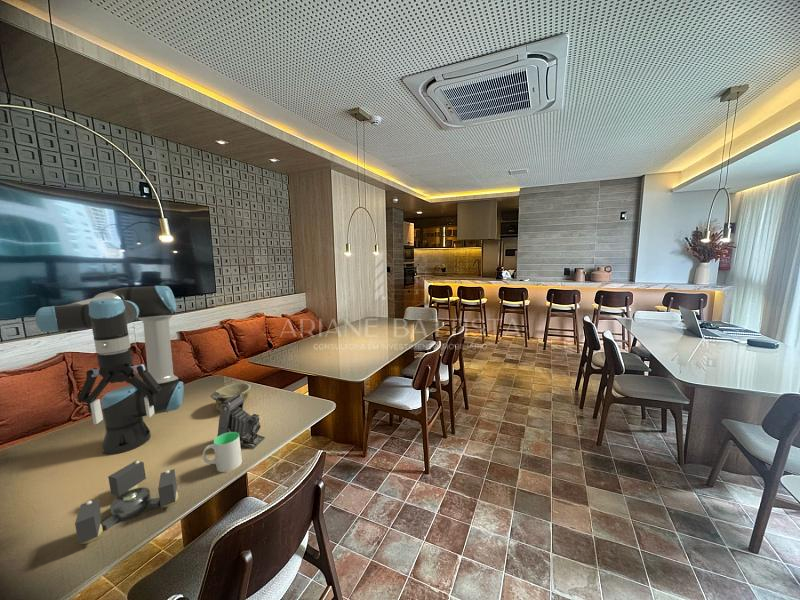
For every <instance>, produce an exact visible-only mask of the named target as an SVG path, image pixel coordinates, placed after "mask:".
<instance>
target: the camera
mask: <svg viewBox="0 0 800 600" xmlns="http://www.w3.org/2000/svg"><path fill="white" fill-rule="evenodd" d="M241 394H242V393H241V392H238V393H237V394H235V395H233V396H232V397H230V398H229V399H228V400H226V401H224V403H223V404H220V411H219V418H218V426H217V427H218V428H217V435H216V438H217V437H218V436H220V435H222V434H224V433H228V432H237V433H239V438H240V446H243V447H247V448H250V449H256V448H257V447H258V445H259V444H261V443H262V441H264V439H266V436H263V435H260V434H258V433H259V431H260V429H261V422H260V414H258V413H253V414H249V412H247V411H246V410H244V402H245V401H244V397H243V395H241Z"/></svg>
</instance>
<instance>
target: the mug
mask: <svg viewBox="0 0 800 600" xmlns="http://www.w3.org/2000/svg"><path fill="white" fill-rule="evenodd" d="M208 449H213V451H214V455H215V456H214V457H215V458H214V459H212V460H209V459H208V458H207V457H206V451H207V450H208ZM202 460H203V462H204V463H206V464H209V465H214V464H215V465H216V470H217V472H219V473H227V472H231V471H233V470H236V469H237V468H238V467H240V466H241V464H242V463H243V457H242V449H241V445H240V438H239V433H237V432H228V433H224V434H222V435H220V436H218V437H217V436H216V437H215V438H214V439H213V443H212V444H208V445H207V446H206V447H205V448H204V449H203V451H202Z"/></svg>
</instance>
